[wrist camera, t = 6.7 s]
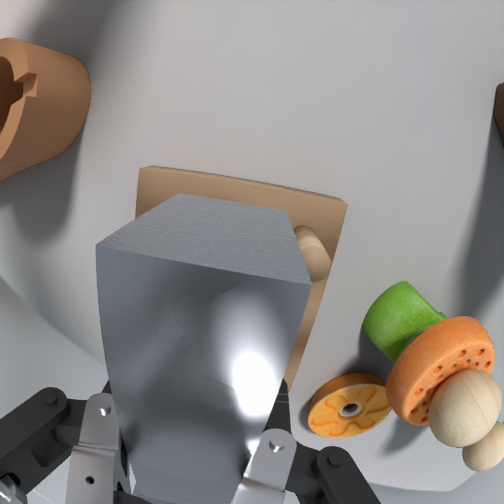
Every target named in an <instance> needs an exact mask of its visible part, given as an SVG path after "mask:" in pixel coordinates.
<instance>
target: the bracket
mask: <svg viewBox="0 0 504 504" xmlns="http://www.w3.org/2000/svg"><path fill="white" fill-rule="evenodd" d="M90 100H91V85H90V78H89V74H88V72H87V70H86V68H85V66H84V65H83V63H82V62H81V61H80V60H78V59H77V58H75V57H73V56H70V55H67V54H64V53H61V52H58V51H55V50H52V49H49V48H46V47H43V46H39V45H36V44H33V43H29V42H26V41H22V40H18V39H15V38H3V39H0V181H2V180H4V179H6V178H8V177H10V176H12V175H14V174H16V173H18V172H20V171H23V170H25V169H27V168H29V167H32V166H34V165H36V164H39V163H41V162H43V161H46V160H48V159H51V158H53V157H56V156H58V155H59V154H61V153H62V152H64V151H65V150H66V149H67V148H68V147H69V146H70V145H71V144H72V143H73V142H74V140H75V139H76V137H77V136H78V134H79V133H80V131H81V129H82V127H83V125H84V123H85V120H86V117H87V114H88V111H89V106H90Z"/></svg>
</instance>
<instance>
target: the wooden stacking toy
mask: <svg viewBox="0 0 504 504" xmlns="http://www.w3.org/2000/svg"><path fill="white" fill-rule="evenodd" d="M362 328H363V330H364V332H365V333H366V335H367V336H368V337H369V339H370V340H371V341H372V342H373V343H374V345H375V346H376V347H377V348H378V349H379V350H380V351H381V352H382V353H383V354H384V355H385V356H386V357H387V358H388V359H390V360H391V361H392V362H394V365H393V367H392V369H391V371H390V373H389V376H388V379H387V383H386V386H385V385H384V383H383V382H382V381H381V380H380V379H379V378H377V377H376V376H374V375H372V374H368V373H350V374H346V375H342V376H339V377H337V378H334V379H332V380H330V381H329V382H327V383H325V384H324V385H323V386H322V387H320V388H319V389H318V390H317V392H316V393H315V394H314V396H313V398H312V401H311V405H310V410H309V415H308V426H309V428H310V429H311V430H312V431H313V432H314V433H316V434H317V435H320V436H322V437H327V438H346V437H351V436H355V435H358V434H361V433H363V432H366V431H368V430H370V429H371V428H373V427H375V426H376V425H378V424H379V423H380V422H381V421H382V420H384V419H385V418H386V416H387V415H388V414H389V412H390V411H391V409H393V410H394V411H395V413H396V414H397V415H398V416H399V417H400V418H401V419H403V420H404V421H405V422H407V423H409V424H411V425H415V426H428V425H430V428H431V430H432V433H433V434H434V436H435V437H436V438H437V439H438V440H439V441H440V442H441V443H443V444H445V445H448V446H451V447H456V448H462V447H463V451H462V456H463V460H464V463H465V465H466V466H467V467H468V468H470V469H471V470H474V471H485V470H488V469H491V468H492V467H494V466H495V465H497V464H498V463H499V462H500V461H501V460H502V459H503V457H504V424H503V423H501V422H498V420H499V419H500V416H501V405H502V395H501V390H500V387H499V385H498V383H497V382H496V380H495V379H494V378H493V377H492V376H491V372H492V369H493V366H494V360H495V353H494V347H493V344H492V341H491V339H490V337H489V335H488V333H487V331H486V330H485V329H484V327H483V326H482V325H481V323H480V322H479V321H478V320H476V319H474V318H472V317H469V316H458V317H453V318H449V319H448V318H447V317H446V316H445V315H444V314H443V313H442V312H440V314H439V313H438V312H437V311H436V310H435V309H434V308H433V307H432V306H431V305H430V304H429V303H428V302H427V301H426V300H425V299H424V298H423V297H422V296H421V295H420V294H419V293H418V292H417V291H416V290H415V289H414V288H413V287H412V286H411V285H410V284H409V283H408V282H407V281H402V282H399V283H397V284H395V285H393V286H392V287H390V288H389V289H387V290H386V291H385V292H384V293H383V294H381V295H380V296H379V297H378V298H377V299H376V301H375V302H374V303H373V304H372V306H371V307H370V309H369V310H368V312H367V314H366V316H365V319H364V321H363V324H362ZM351 403H354V404H352V405H349V406H346V405H348V404H351Z"/></svg>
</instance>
